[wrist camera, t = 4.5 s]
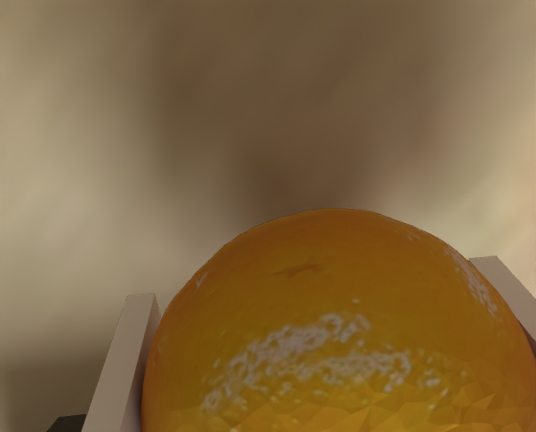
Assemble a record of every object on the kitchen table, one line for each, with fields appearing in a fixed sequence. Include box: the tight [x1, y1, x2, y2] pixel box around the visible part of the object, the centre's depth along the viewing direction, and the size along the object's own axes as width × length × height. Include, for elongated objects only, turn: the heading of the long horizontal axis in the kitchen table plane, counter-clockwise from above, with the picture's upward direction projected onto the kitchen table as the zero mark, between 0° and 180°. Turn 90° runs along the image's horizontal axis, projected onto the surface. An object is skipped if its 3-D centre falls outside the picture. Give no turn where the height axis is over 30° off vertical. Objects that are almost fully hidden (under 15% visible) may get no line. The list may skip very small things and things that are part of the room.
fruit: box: [140, 208, 536, 432], centre depth 11 cm, size 8×8×8 cm
